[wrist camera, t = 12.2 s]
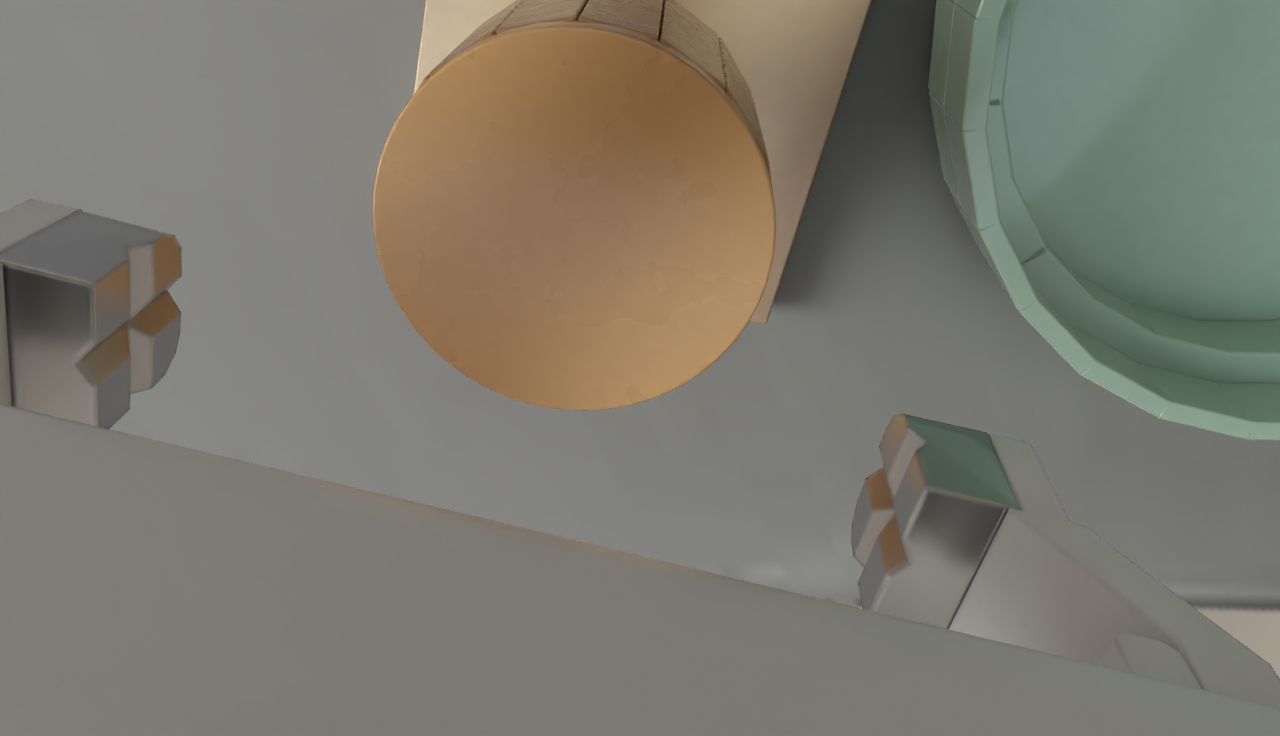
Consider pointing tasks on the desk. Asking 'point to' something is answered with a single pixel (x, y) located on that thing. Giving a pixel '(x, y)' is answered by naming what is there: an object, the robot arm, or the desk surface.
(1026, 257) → the bowl
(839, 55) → the ball stand
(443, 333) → the wood cap
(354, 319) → the desk surface
